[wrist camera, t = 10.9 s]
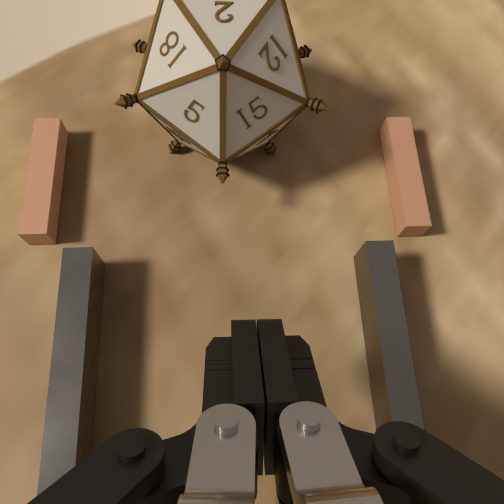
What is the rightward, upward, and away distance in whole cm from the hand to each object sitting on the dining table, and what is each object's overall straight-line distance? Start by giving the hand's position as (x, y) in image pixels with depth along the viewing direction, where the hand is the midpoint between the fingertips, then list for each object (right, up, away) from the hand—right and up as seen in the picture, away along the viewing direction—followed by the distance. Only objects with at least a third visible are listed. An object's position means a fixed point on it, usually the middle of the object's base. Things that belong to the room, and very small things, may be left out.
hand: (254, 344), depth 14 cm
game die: (-2, +9, +10) cm, 14 cm away
